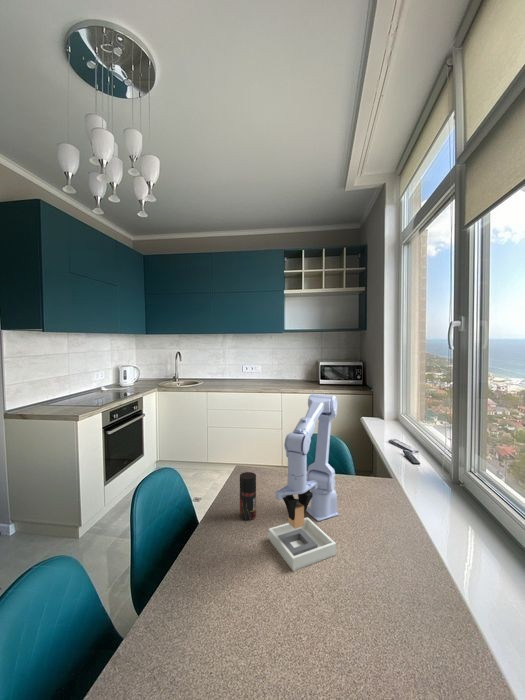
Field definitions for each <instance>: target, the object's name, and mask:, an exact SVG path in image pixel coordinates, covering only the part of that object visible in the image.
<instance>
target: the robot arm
mask: <svg viewBox="0 0 525 700" xmlns="http://www.w3.org/2000/svg"><path fill="white" fill-rule="evenodd" d="M338 403H339V402H338V399H337V396H336V395H328V394H319V393H318V394H314V393H310V395H309V396H308V399H307V406H308V409H307V412H306V414H305V416H304V417H301V418H299V421H298V422H297V424H296V426H295V428H294V429H293V431H292V432H290V433H288V434H286V437H285V439H284V443H283V444H284V445H283V446H284V449H285V456H286V458H287V484H286V485H285V486H283V487H281V488H280V489H278V490H276V491H275V499H277V500H278V501H282V500H283V502H284V504H285V507H286V510H287V516H288V515H289V518H290V519H292V520H294V519H295V507H296V503H297V500H296V499H299V503H301V504H302V505H304V517H305V516H306V514H307V513H308V514H309V515H310V516H312V518H313V519H314V520H316V521H317V522H320V521H323V520H327V519H330V518H333V517H337V516H339V512H338V495H337V492H336V489H335V486H336V471H335V468H334V467H332V466H331V464H329V455H330V440H331V430H332V429H331V428H332V423H333V419H335V418H337V414H338ZM317 420H318V422H317ZM316 422H317V426H316ZM316 427H317V433H316V434H317V436H316V445H315V456H314V458H315V459H314V461H313V462H312V463H311V464H309V465H308V463H307V461H308V460H307V456H308V455H307V454H308V452H309V451H310V447H311V445H310V444H311V442H312V439H311V438H312V436H313V434H314V432H315V430H316ZM294 495H297V498H295V496H294ZM309 503H310V507H308V506H309Z"/></svg>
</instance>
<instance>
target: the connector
mask: <svg viewBox="0 0 525 700" xmlns="http://www.w3.org/2000/svg"><path fill="white" fill-rule="evenodd" d="M295 499H296V500H297V503H296V507H295V519H294V520H292V519H290V518H289V515H288V514H287V516H288V517H287V523H289V524H290V525H291V526H292V527H293V528H295V529H296V528H299V527H301V526H304V518H305V516H304V505H302V504H301V503H299V499H298V498H295Z"/></svg>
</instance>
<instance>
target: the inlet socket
mask: <svg viewBox="0 0 525 700" xmlns="http://www.w3.org/2000/svg"><path fill="white" fill-rule="evenodd" d="M278 537H279V538H280V540H281V541H282V542H283V543H284V545H285V546H286V547H287V548H288V549H289V551H290V552H291V553H292V554H293V555H294V556H296V555H298V554H301V553H304V552H307V551H310V550H313V549H315V548H318V545H317V544H316V543H315V542H314V541H313V540H312V539H311V538H310V537H309V536H308V535H307V534H306V533H305V531H304V530H303V529H302V528H301V529H298V530H295V531H291V532H288V533H285V534H282V535H278ZM299 539H300V540H301V541H302V543H303V544H304V545H301V546H298V547H296V548H294V547H293V546H292V545H291V544H290V542H293V541H296V540H299Z"/></svg>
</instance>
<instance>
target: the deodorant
mask: <svg viewBox="0 0 525 700" xmlns="http://www.w3.org/2000/svg"><path fill="white" fill-rule="evenodd" d="M256 518H257V474H256V473H254V472H253V471H252V472H251V471H244V472H242V473H240V474H239V519H240V520H242V521H245V522H249V521H253V520H255V519H256Z"/></svg>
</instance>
